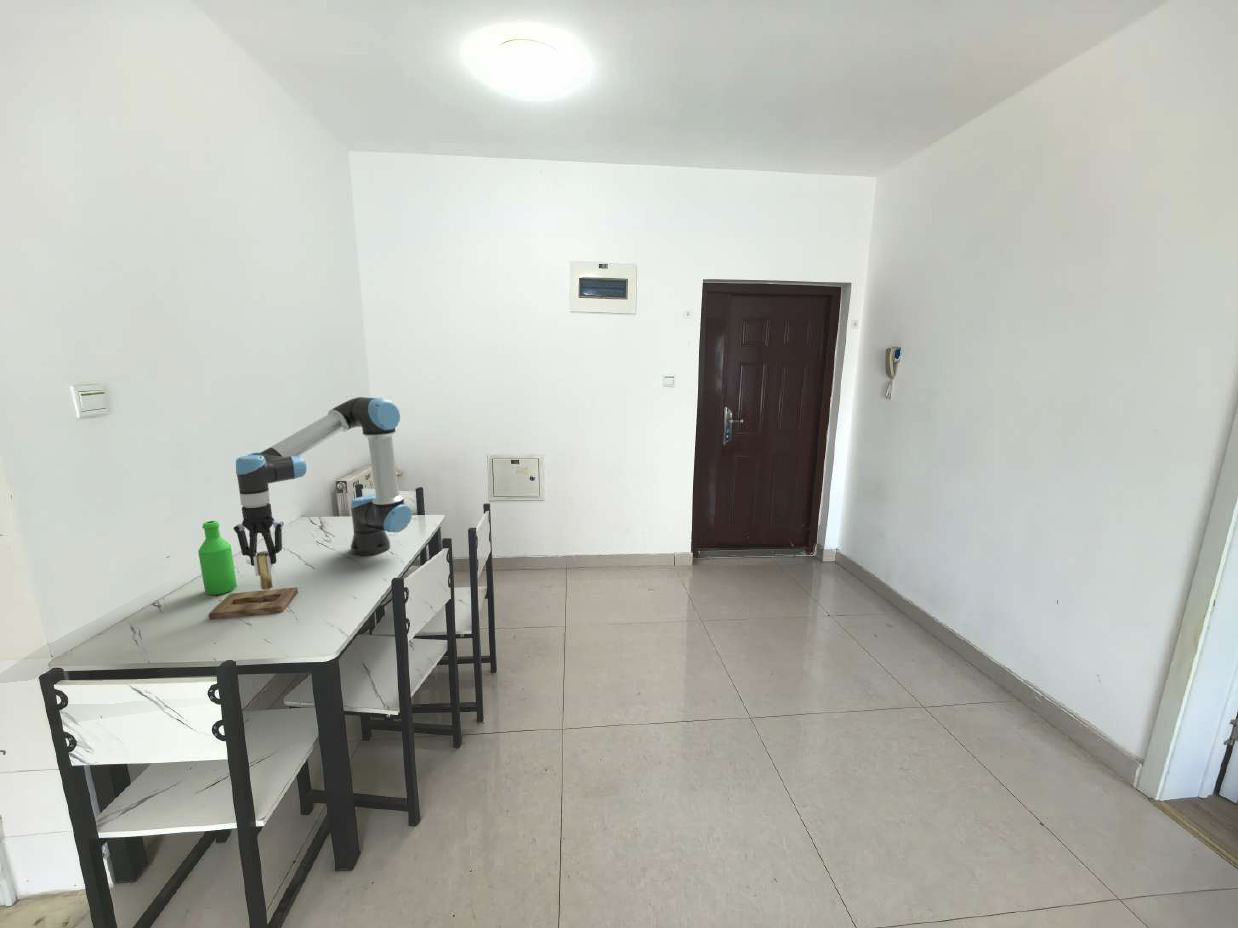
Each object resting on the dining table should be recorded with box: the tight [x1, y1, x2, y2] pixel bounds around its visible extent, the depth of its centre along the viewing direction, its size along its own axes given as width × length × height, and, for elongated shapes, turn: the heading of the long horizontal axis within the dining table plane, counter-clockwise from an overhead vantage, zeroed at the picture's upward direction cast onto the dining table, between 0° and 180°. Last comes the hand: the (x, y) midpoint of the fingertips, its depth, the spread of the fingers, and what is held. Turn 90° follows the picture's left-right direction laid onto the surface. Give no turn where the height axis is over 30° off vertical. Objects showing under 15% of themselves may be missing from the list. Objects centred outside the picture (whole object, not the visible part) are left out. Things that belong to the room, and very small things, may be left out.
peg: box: [256, 550, 274, 591], centre depth 164 cm, size 3×3×12 cm
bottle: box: [198, 520, 238, 596], centre depth 173 cm, size 9×9×25 cm
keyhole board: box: [208, 586, 299, 621], centre depth 165 cm, size 20×14×2 cm
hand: (265, 573), depth 164 cm, fingers closed on peg, 3 cm apart
